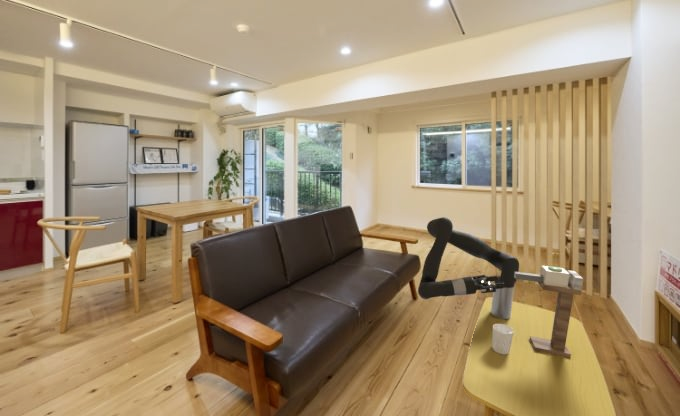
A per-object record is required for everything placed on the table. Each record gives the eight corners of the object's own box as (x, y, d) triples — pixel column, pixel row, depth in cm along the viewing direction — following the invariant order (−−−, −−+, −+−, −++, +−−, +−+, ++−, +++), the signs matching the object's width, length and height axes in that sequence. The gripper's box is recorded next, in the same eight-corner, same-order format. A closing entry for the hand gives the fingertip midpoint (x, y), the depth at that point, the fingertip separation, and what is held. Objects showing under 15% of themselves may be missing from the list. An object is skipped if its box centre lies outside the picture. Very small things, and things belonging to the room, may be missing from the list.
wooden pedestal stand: (529, 338, 139) (539, 266, 133) (562, 345, 135) (574, 270, 129) (534, 350, 130) (545, 274, 124) (570, 357, 126) (583, 278, 120)
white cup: (490, 351, 129) (492, 330, 127) (490, 342, 136) (493, 321, 134) (511, 357, 125) (513, 335, 124) (510, 347, 132) (513, 326, 131)
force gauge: (512, 275, 136) (514, 261, 135) (561, 281, 130) (563, 266, 129) (516, 280, 129) (518, 266, 128) (567, 287, 123) (569, 272, 122)
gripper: (465, 284, 128) (506, 279, 126) (457, 272, 142) (494, 268, 140) (468, 300, 129) (508, 296, 126) (460, 288, 143) (496, 283, 140)
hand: (501, 281), depth 133 cm, fingers open, 8 cm apart
